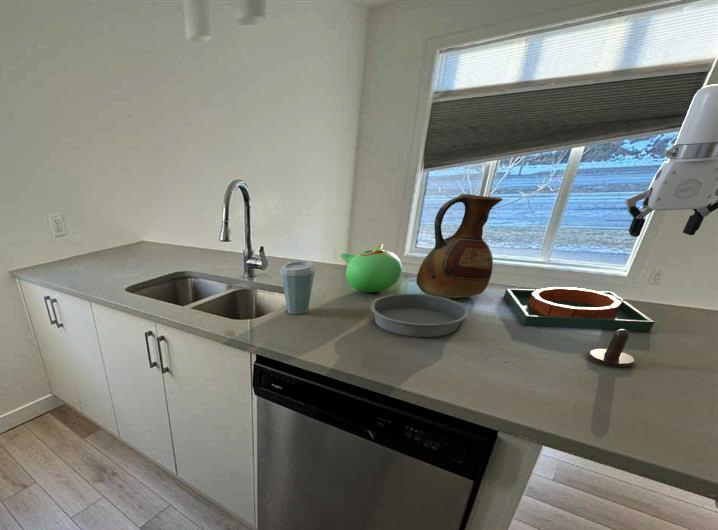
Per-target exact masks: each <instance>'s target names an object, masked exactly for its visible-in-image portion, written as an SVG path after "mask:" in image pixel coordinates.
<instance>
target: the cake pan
mask: <svg viewBox="0 0 718 530" xmlns="http://www.w3.org/2000/svg"><path fill="white" fill-rule="evenodd" d="M370 310H371V311H372V313H373V315H374V316H373V317H374V322H375V324H376V325H377V326H378V327H379V328H381V329H382V330H385V331H387V332H390V333H393V334H396V335H400V336H406V337H412V338H413V337H414V338H435V337H442V336H446V335H449V334H450V335H451V334H452V333H453V332H455V331H456V330H457V329H458V328H459V326H460V324H461V323H462V322H463V321H464V320H467V318H468V317H469V315H470V312H469V309H468V308H467V307H466V306H465V305H463V304H462V303H460V302H458V301H456V300H453V299H447V298H443V297H439V296H433V295H429V294H426V293H425V294H423V293H396V294H390V295H385V296H382V297H379V298H376V299H375V300H374V301H372V302H371V304H370Z"/></svg>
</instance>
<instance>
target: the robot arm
mask: <svg viewBox="0 0 718 530" xmlns="http://www.w3.org/2000/svg"><path fill="white" fill-rule="evenodd" d="M685 115H686V116H685V118H684V120H683V122H682V124H681V127H680V130H679V133H678V135H677V138H676V140H675V143H674V144H673V145H672V147H670V148H666V149H664V151H663V152H662V156H663V157H667V158H668V160H666V161H663V163H662V164H661V166H660V167H659V169H658V170H657V172H656V173H655V175H654V177H653V179H652V180H651V182H650V185H649V187H648V188H647V190H645V191H642V192H640V193H637V194H635V195H633V196H629V197H628V198H626V199H625V205H626V210H627V212H628V213H629V215H630V216H631V217H632V220H631V223H630V226H629V229H628V232H629V235H630V236H632V237H635V238H637V237H639V236H640V234H641V233H642V230H643V228H644V225H645V222H646V219H645V217H647V215H649V214H650V213H652V212H653V211H679V210H680V211H681V210H682V211H683V210H691V211H692V212H693V214H691V215H689V217H688V219H687V221H686V224H685V226H684V228H683V231H682V233H683V234H685V235H687V236H694V235H696V233H697V231H698V230H699V229H700V228H701V225H702V223H703V221H704V219H705V217H708V216H709V215H710V213H712V212H714V211H716V210H718V83H715V84H710V85H706V86H703V87H700V89H698V90H697V91H696V92H695V94H694V96H693V98H692V100H691V103H690V105H689V108H688V110H687V113H686V114H685ZM714 197H715V199H714V200H713V198H714ZM642 200H643V201H642ZM712 200H713V201H712ZM639 201H642V204H641V205H642V206H641V207H639V208H638V207H637V203H638V202H639Z"/></svg>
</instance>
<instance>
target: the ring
mask: <svg viewBox="0 0 718 530" xmlns="http://www.w3.org/2000/svg"><path fill="white" fill-rule="evenodd" d="M598 291H599V290H592V289H586V288H578V287H564V286H562V287H559V286H552V287H545V288H538V289H536V291H534V292H533V293H532V294H531V297H530V300H529V303H528V307H529V308H530V309H531V311H533V312H535V313H538V314H540V315H543V316H556V317H578V318H600V319H613V318H614V317H615V316H616V314H617V312H618V310H619V308H620V306H621V303H622V302H621V301H620V300H618V299H617V298H616V297H614V296H612V295H608V294H605V293H601V292H598ZM551 300H552V301H572V302H578V303H584V304H589V305H592V306H595V307H598V308H586V307H572V306H566V305H560V304H555V303H552V302H549V301H551Z"/></svg>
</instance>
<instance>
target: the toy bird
mask: <svg viewBox="0 0 718 530" xmlns="http://www.w3.org/2000/svg"><path fill="white" fill-rule="evenodd" d="M383 248H384V244H383V243H380V244H378V245H376V246H375V247H374V248H373V249H370V250H365V251H363V252H360V253H358V254H351V253H343V252H342V253H339V257H340V258H341V259H343V260H344V261H345V262H347V263H348V264H347V266H346V269H345V277H346V280H347V283H348V284H349V286H351V287H352V288H353V289H355V290H357V291H359V292H363V293H377V292H378V293H379V292H382V291H385V290H387V289H390V288H391V287H392V286H394V285H395V284H396V283H397V282H398V281H399V280H400V278H401V275H402V272H403V265H402V262H401V260H400V258H399V257H398V256H397V255H396V254H395V253H394V252H391V251H389V250H386V249H383Z"/></svg>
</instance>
